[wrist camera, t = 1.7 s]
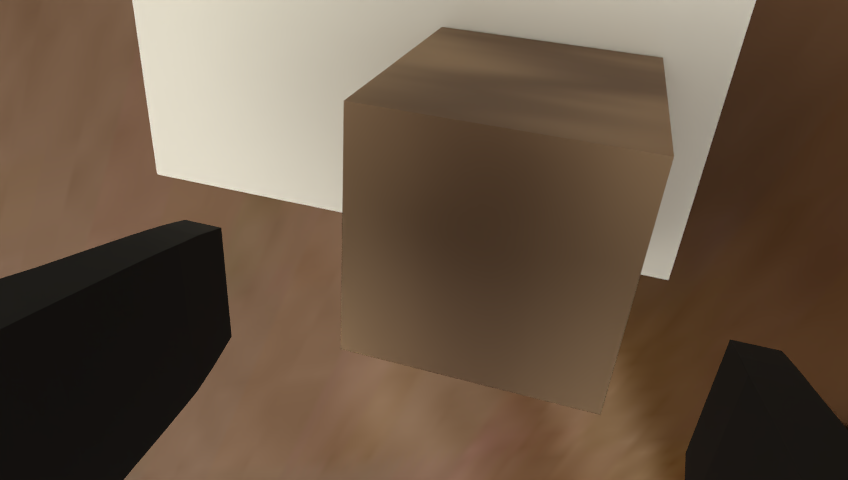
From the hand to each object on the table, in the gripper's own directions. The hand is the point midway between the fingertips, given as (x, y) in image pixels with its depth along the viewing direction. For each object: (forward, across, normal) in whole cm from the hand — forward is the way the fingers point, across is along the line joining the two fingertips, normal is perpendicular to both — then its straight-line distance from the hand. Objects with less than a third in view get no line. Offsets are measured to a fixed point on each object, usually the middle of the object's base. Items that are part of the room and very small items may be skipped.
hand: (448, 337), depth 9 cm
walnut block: (+8, 0, 0) cm, 8 cm away
